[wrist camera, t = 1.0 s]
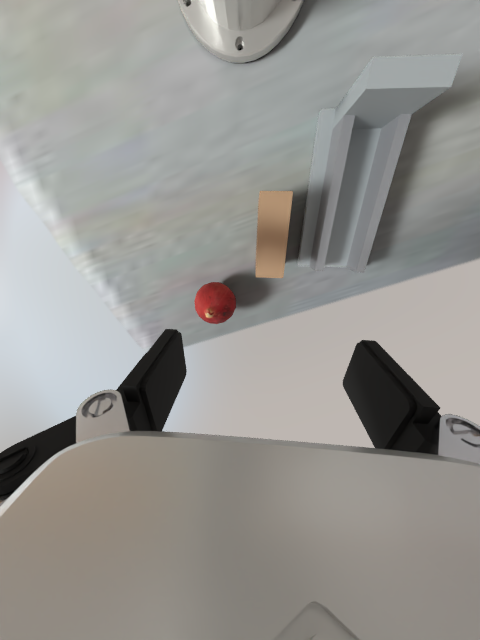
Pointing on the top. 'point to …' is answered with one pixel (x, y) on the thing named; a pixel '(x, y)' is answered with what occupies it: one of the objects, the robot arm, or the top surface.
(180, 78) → the top surface
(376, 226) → the track
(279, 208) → the door slab
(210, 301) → the onion
